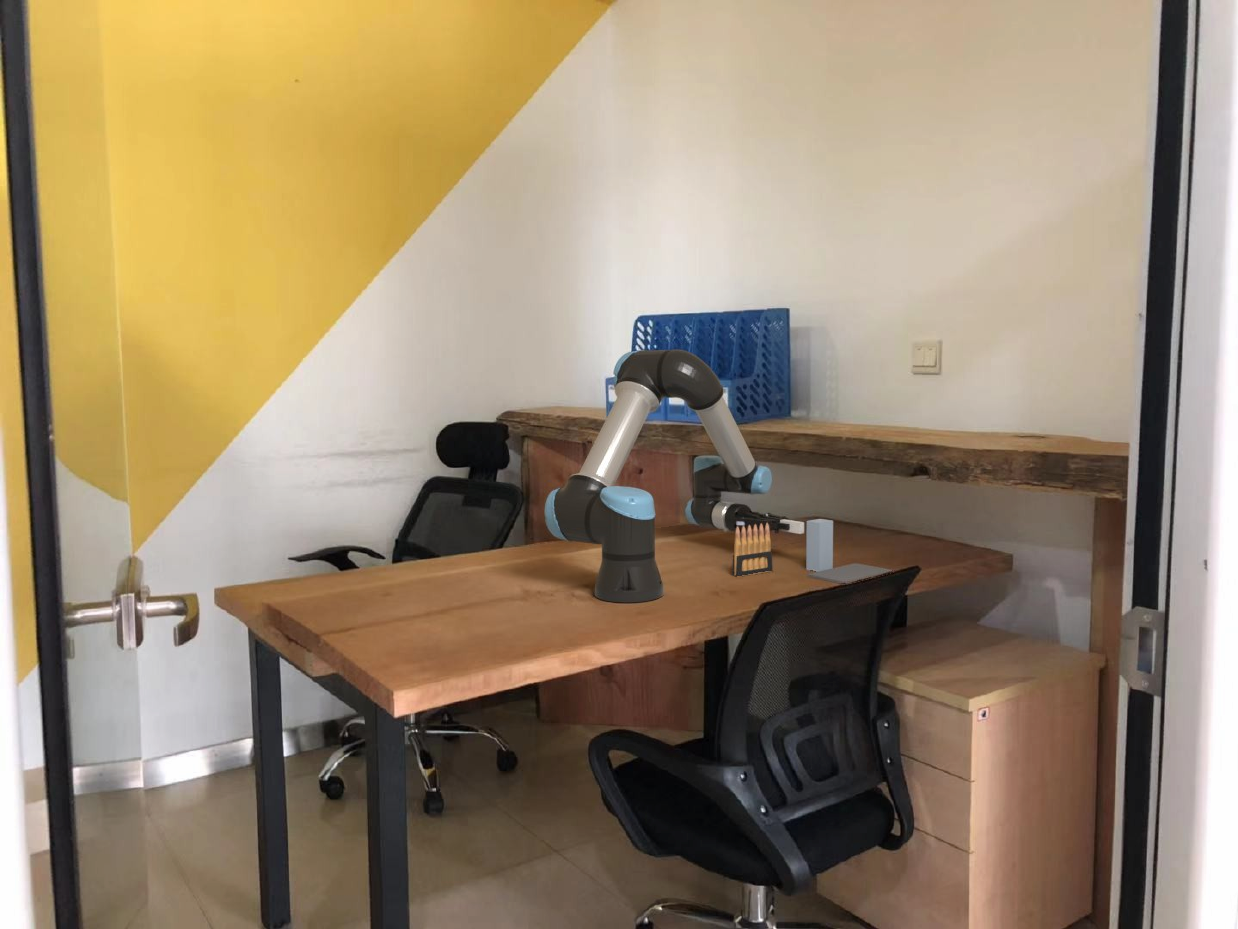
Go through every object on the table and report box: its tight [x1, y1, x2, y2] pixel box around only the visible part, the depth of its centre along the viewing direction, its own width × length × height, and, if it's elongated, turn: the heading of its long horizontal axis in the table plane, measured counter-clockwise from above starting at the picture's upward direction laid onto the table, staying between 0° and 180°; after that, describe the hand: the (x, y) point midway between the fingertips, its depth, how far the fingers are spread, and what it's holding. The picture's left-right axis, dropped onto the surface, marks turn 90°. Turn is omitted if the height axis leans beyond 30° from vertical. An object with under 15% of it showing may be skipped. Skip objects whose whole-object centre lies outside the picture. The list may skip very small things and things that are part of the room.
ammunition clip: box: [731, 523, 773, 577], centre depth 226 cm, size 11×2×12 cm, turn 119°
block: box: [805, 518, 834, 572], centre depth 229 cm, size 5×4×12 cm
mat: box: [807, 562, 893, 584], centre depth 224 cm, size 18×11×1 cm, turn 129°
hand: (802, 528), depth 233 cm, fingers closed
